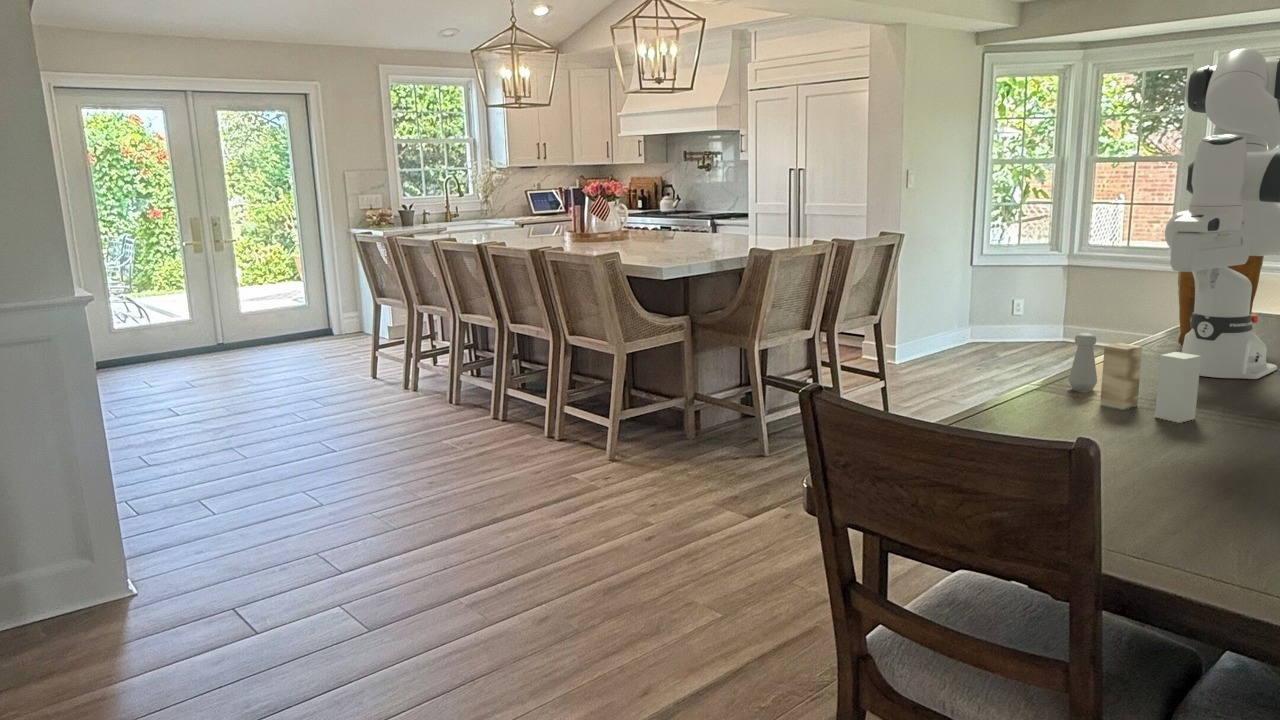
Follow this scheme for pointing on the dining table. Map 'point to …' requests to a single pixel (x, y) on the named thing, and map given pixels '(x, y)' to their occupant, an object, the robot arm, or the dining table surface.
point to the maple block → (1121, 376)
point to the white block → (1177, 387)
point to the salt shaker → (1084, 364)
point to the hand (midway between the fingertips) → (1207, 291)
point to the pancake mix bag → (1188, 290)
